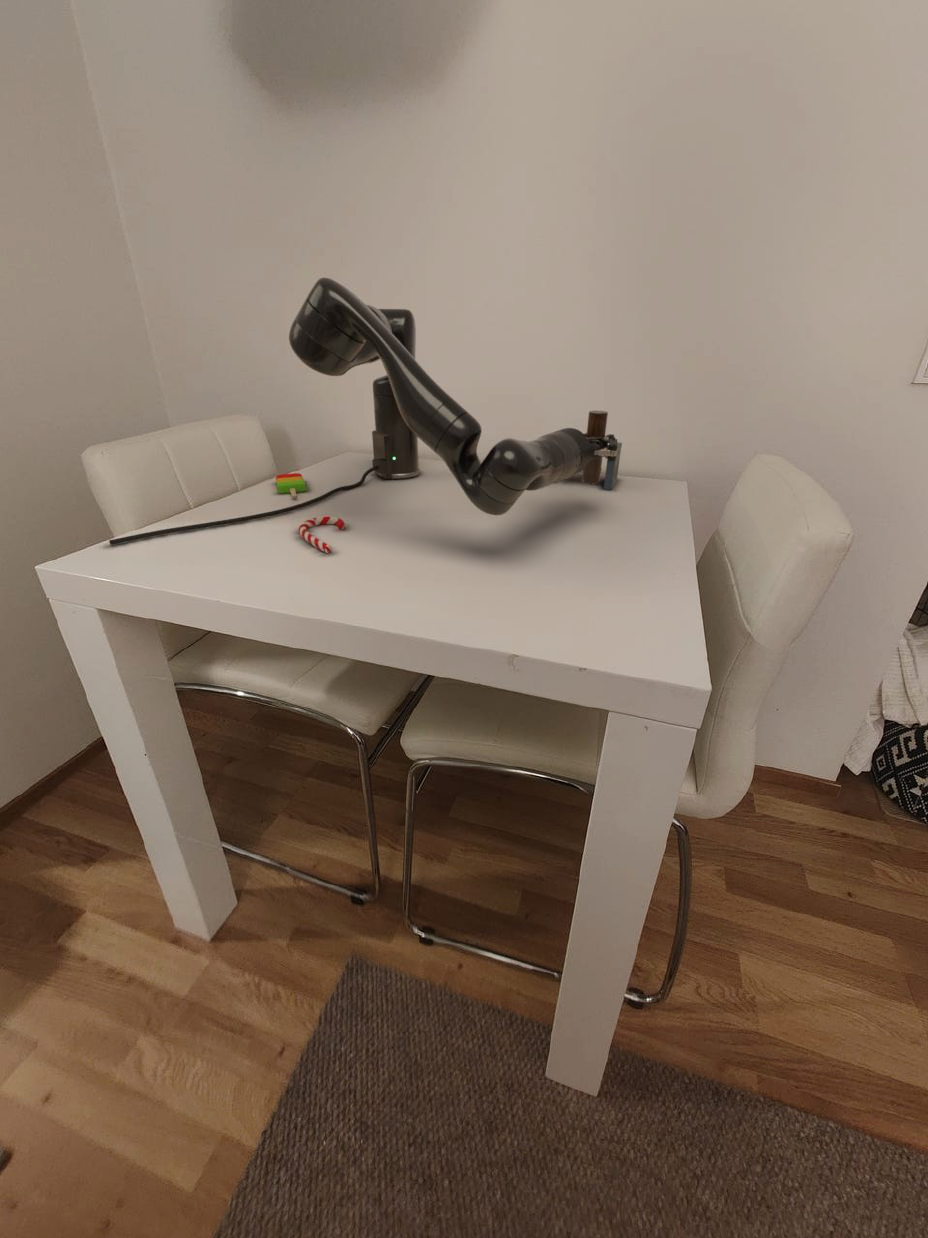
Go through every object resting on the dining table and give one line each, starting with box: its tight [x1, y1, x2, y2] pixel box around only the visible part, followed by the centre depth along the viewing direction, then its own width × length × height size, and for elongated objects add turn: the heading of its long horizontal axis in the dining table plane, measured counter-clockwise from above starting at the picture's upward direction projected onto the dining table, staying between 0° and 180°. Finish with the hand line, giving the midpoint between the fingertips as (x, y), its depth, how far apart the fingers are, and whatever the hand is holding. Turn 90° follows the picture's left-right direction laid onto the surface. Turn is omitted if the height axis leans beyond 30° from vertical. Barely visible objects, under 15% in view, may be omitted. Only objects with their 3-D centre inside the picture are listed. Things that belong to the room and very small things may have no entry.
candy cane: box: [298, 516, 346, 554], centre depth 93 cm, size 8×1×15 cm
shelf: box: [602, 441, 623, 491], centre depth 124 cm, size 10×16×8 cm, turn 69°
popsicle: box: [275, 472, 307, 498], centre depth 117 cm, size 6×15×2 cm, turn 19°
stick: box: [581, 410, 609, 484], centre depth 101 cm, size 3×3×12 cm
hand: (601, 439), depth 102 cm, fingers closed on stick, 3 cm apart
